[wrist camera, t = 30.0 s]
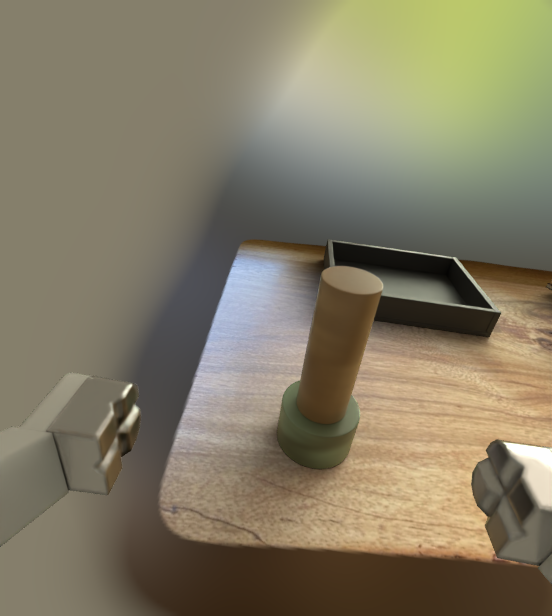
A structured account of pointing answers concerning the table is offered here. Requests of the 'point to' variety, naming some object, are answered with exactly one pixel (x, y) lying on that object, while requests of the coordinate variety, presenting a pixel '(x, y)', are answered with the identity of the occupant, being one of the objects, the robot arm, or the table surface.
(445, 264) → the pan
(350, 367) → the tan cylinder
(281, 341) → the table surface
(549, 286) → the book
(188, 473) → the table surface
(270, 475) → the table surface
